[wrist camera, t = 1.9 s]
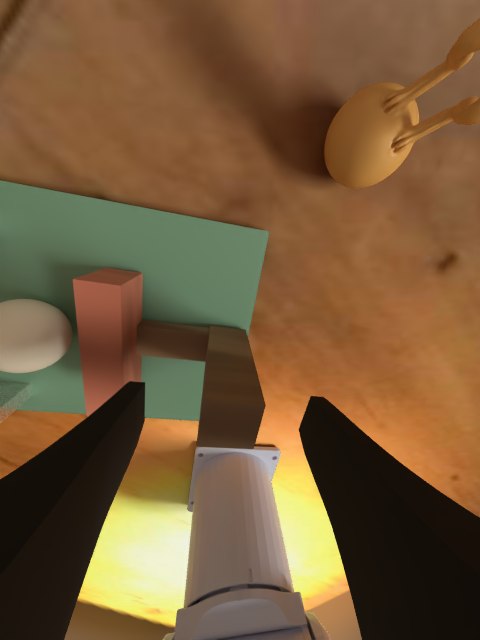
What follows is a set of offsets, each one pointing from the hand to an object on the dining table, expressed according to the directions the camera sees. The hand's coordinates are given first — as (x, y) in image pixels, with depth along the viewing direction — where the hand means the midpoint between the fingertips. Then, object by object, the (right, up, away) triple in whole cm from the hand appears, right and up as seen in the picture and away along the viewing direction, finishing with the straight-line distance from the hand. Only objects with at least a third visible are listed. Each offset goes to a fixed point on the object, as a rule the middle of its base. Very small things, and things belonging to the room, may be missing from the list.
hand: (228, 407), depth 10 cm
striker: (-4, +3, +5) cm, 7 cm away
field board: (-9, +4, +6) cm, 12 cm away
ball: (-11, +3, +3) cm, 12 cm away
